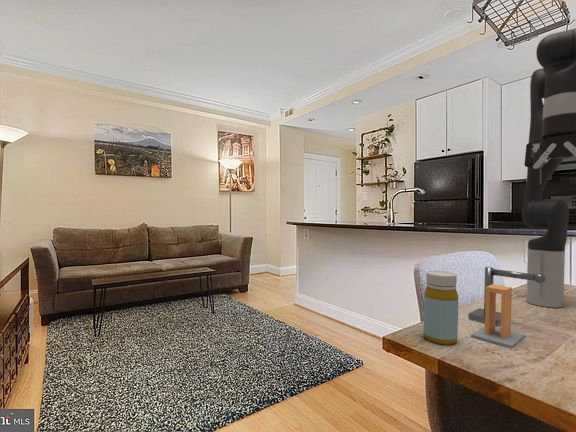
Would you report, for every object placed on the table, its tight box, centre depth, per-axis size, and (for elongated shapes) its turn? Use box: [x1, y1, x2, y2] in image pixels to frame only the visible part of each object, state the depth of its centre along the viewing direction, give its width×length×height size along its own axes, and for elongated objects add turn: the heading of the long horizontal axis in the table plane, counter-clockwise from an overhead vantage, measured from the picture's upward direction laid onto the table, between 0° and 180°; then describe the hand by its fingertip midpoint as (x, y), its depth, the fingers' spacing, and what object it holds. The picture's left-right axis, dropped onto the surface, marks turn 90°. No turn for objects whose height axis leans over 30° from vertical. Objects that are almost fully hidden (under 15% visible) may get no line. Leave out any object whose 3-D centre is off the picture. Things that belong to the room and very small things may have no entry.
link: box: [484, 283, 513, 339], centre depth 75 cm, size 4×4×11 cm
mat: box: [470, 325, 526, 349], centre depth 75 cm, size 10×8×1 cm
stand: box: [467, 266, 546, 327], centre depth 84 cm, size 8×16×14 cm, turn 40°
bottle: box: [422, 270, 459, 346], centre depth 74 cm, size 7×7×15 cm
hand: (560, 183), depth 78 cm, fingers open, 8 cm apart
